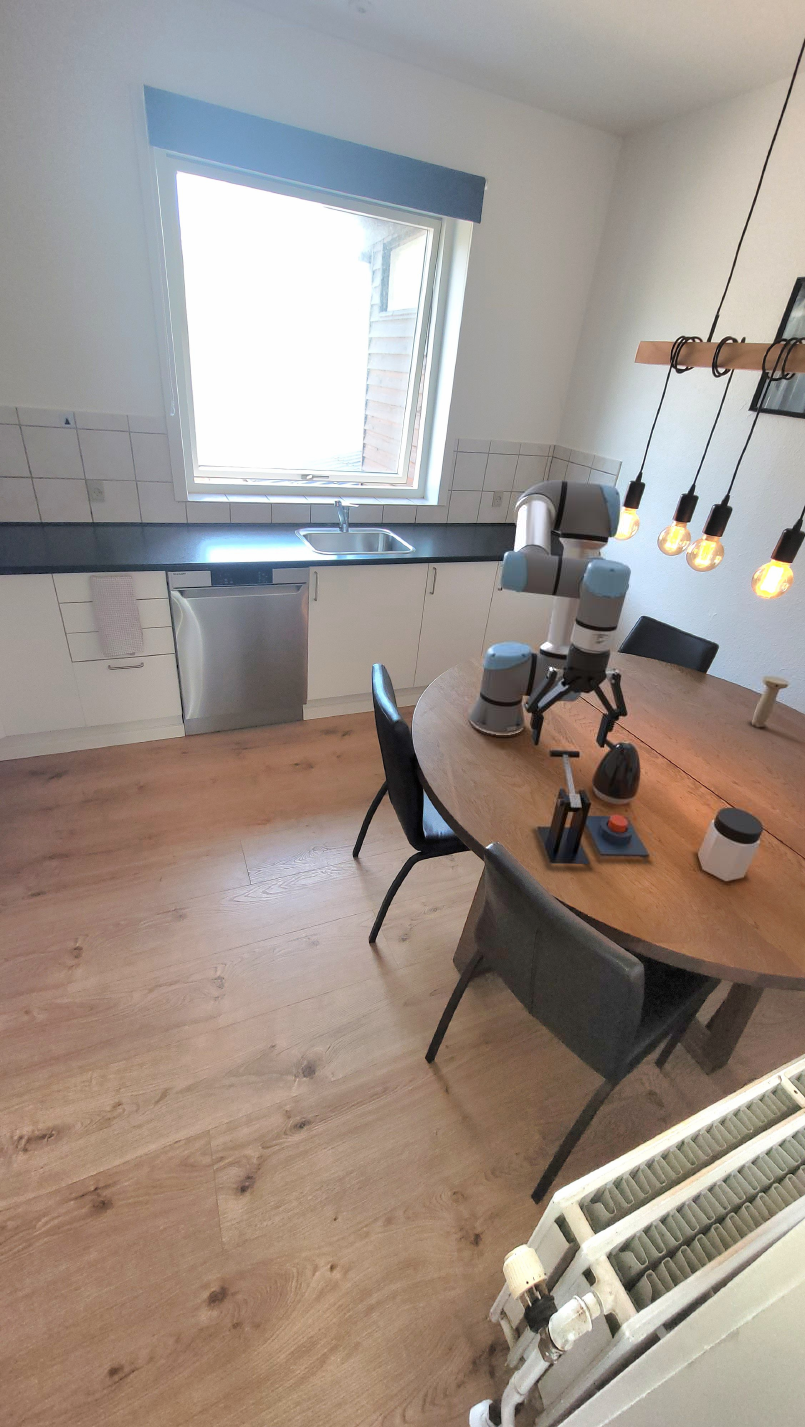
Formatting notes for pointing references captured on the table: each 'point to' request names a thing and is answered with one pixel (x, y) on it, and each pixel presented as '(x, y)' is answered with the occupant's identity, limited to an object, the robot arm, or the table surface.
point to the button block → (614, 838)
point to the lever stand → (566, 831)
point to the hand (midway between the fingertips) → (567, 743)
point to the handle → (768, 699)
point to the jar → (730, 844)
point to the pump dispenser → (617, 774)
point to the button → (618, 823)
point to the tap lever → (569, 776)
